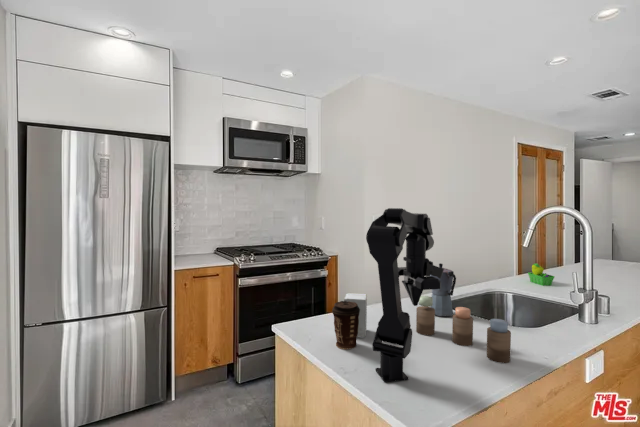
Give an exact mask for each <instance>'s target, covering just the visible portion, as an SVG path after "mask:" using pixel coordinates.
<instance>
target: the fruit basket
mask: <svg viewBox="0 0 640 427" xmlns="http://www.w3.org/2000/svg"><path fill="white" fill-rule="evenodd" d="M544 271H545V270H544V267H542V265H540V264H539V263H538V262H537V263H533V264H532V266H531V271H530V272H529V271H528V272H527V274H528V278H529V280H530V282H531V283H534V284H536V285H539V286H552V284H553V281H554V279H555V276H554V275H551V274H548V273H547V272H544Z"/></svg>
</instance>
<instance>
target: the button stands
mask: <svg viewBox="0 0 640 427" xmlns="http://www.w3.org/2000/svg"><path fill="white" fill-rule="evenodd" d="M415 315H416V316H415V317H416V320H415V323H416V324H415V326H416V327H415V329H416V330H415V332H416V333H417V334H419V335H422V336H434V335H435V332H436V331H435V329H436V325H435V324H436V321H435V320H436V315H435V309H434V308H431V307H425V306H421V305H419V306H416V314H415ZM451 331H452V333H451V335H452V337H451V339H452V340H451V341H452V343H454V344H455V345H458V346H462V347H470V346H471V347H472V345H473V344H474V343H473V341H474V317H473V316H471V315H470V318H469V319H461V318H458V317H456V316H455V314H453V315H452V330H451ZM511 332H512V331H511V330H509V329H508V332H506V333H500V332H495V331H492V330H491V329H490V326H489V327H487V328H486V358H487V359H489V360H490V361H492V362H495V363H500V364H509V363H510V362H511V352H512V351H511V343H512V342H511V341H512V340H511V338H512V333H511Z"/></svg>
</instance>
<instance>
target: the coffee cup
mask: <svg viewBox="0 0 640 427" xmlns="http://www.w3.org/2000/svg"><path fill="white" fill-rule="evenodd" d="M333 305H334V306H333V307H332V309H331V312H332V315H333V325H334V326H333V327H334V333H335V337H336V342H335V346H336V347H337V348H338V349H340V350H344V351H347V350H353V349H355V348H357V339H358V337H357V335H358V325H359V318H358V317H359V313H360V309H359V307H358V304H357V303H355V302H350V301H348V302H347V301H344V300H341V301H338V302H336V303H335V302H334V304H333Z"/></svg>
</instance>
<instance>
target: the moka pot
mask: <svg viewBox="0 0 640 427" xmlns="http://www.w3.org/2000/svg"><path fill="white" fill-rule="evenodd" d="M443 265H444V264H443V263H438V267H440V268H443V269H444V271H443V274H442V277H441V279H440V278H438V277H435V276H433V275H430V276H432V277H435V278H437V279H439V280H440V281H441V289H431V297H432V298H433V305H432V306H430V307H431V308H434V309H435V316H439V317H453V315H454V311H453V304H452V298H451V297H452V296H453V295H454V289H455V286H456V283H457V282H456V281H457V277H456V275H455V273H454V271H453V270H451V269H448V268H446V267H443Z"/></svg>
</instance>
